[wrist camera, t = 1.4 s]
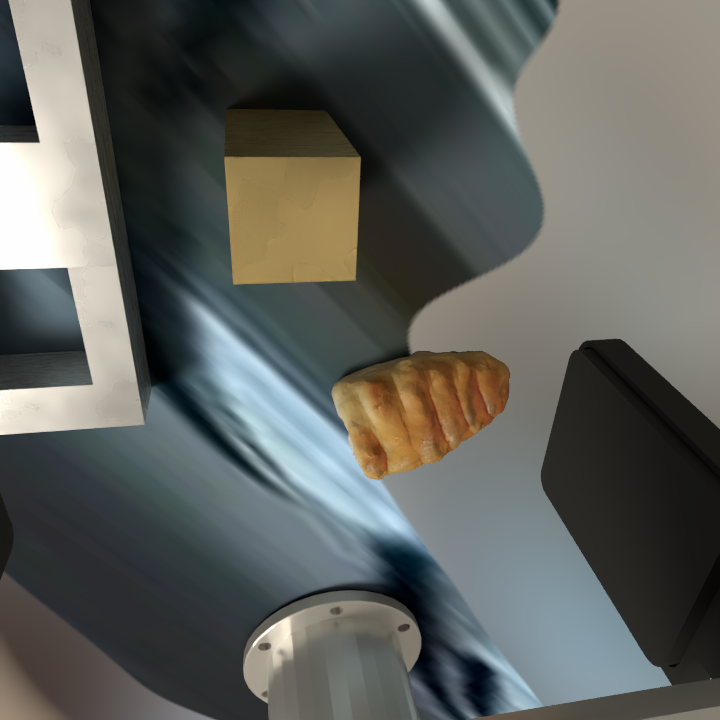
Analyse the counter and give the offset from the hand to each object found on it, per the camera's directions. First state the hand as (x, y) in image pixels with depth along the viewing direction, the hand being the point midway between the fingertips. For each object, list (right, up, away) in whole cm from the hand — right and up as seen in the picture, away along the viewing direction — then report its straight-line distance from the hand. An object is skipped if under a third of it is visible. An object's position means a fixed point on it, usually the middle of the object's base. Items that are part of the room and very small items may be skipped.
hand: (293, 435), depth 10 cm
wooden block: (-2, +10, +16) cm, 19 cm away
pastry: (+4, -1, +24) cm, 24 cm away
